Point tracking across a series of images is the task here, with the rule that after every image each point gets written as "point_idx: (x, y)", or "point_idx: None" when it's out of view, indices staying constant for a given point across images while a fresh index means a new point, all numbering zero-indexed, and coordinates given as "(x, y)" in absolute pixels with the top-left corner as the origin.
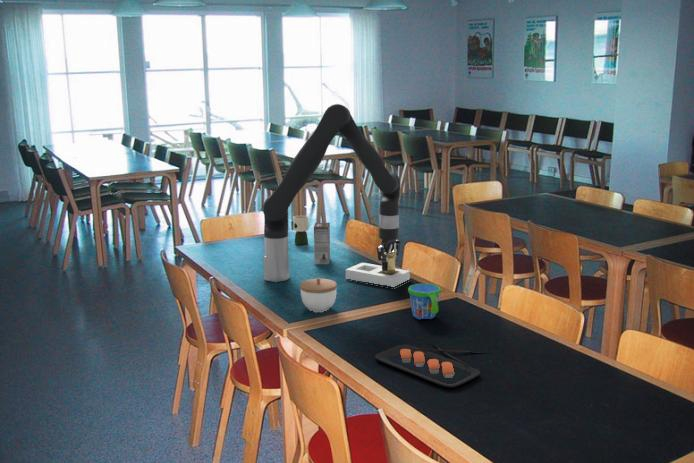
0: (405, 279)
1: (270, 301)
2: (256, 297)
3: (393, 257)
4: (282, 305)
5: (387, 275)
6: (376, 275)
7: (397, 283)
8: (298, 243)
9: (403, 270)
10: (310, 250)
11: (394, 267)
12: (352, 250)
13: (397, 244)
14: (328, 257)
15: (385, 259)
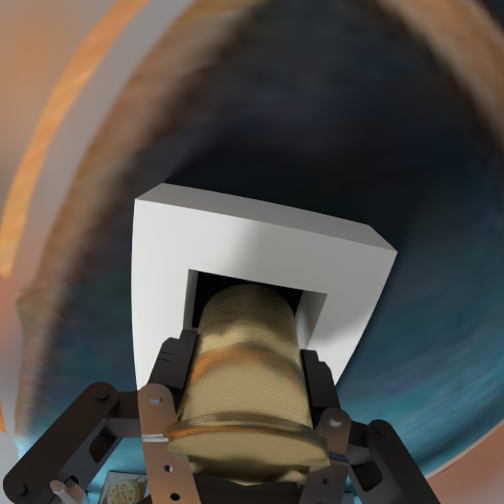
0: (220, 198)
1: (471, 439)
2: (445, 462)
3: (276, 411)
4: (497, 415)
5: (335, 318)
6: (341, 371)
7: (335, 223)
8: (86, 494)
9: (151, 252)
10: (92, 484)
11: (251, 325)
12: (25, 431)
13: (67, 491)
14: (145, 490)
15: (345, 433)
